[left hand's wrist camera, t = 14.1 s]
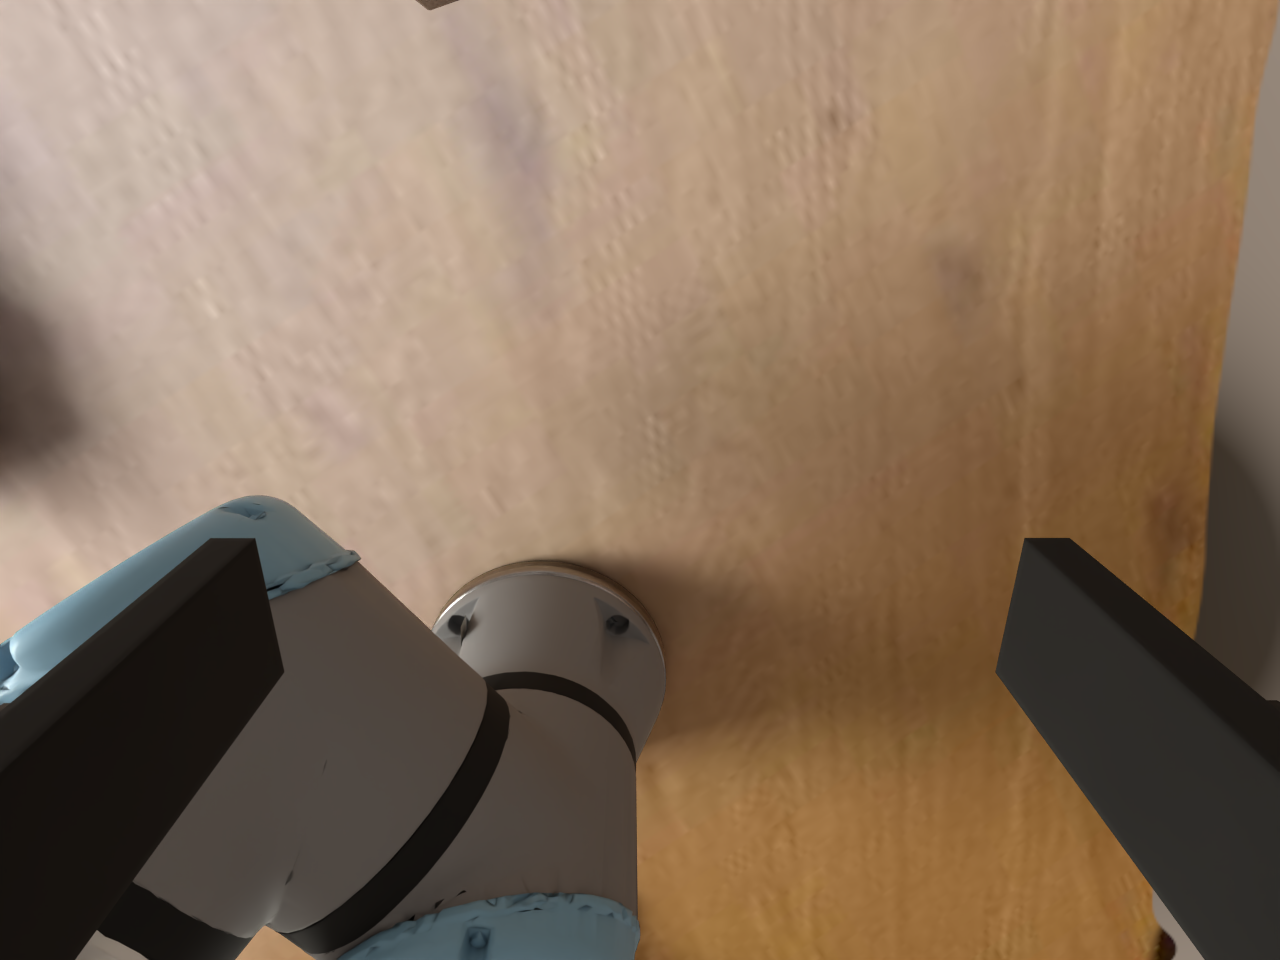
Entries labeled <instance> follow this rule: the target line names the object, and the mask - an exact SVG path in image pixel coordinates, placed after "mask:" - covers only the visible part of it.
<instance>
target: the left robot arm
mask: <svg viewBox="0 0 1280 960" xmlns="http://www.w3.org/2000/svg"><path fill="white" fill-rule="evenodd" d="M360 559H361V557H360V556H359V555H358V554H357V553H356V552H355V551H351V550H345V549H344V548H343V547H341V546H340V545H339V544H338V543H337V542H335V541H334V540H333V539H332V538H331V537H329V536H328V535H327V534H326V533H325V532H323V531H322V530H321V529H320V528H319V527H317V526H316V525H315V524H314V523H312V522H311V521H310V520H309V519H308V518H307V517H305V516H304V515H303V514H302V513H301V512H299V511H298V510H297V509H296V508H295V507H293V506H292V505H290V504H289V503H287V502H285V501H283V500H280V499H278V498H274V497H269V496H246V497H242V498H238V499H235V500H232V501H229V502H227V503H225V504H222V505H220V506H218V507H216V508H214V509H212V510H210V511H208V512H207V513H205V514H203V515H201V516H199V517H198V518H196V519H194V520H192V521H191V522H189V523H187V524H185V525H184V526H182V527H180V528H178V529H177V530H175V531H173V532H171V533H170V534H168V535H166V536H165V537H163V538H161V539H160V540H158V541H156V542H155V543H153V544H151V545H150V546H148V547H146V548H145V549H143V550H142V551H140V552H138V553H137V554H135V555H133V556H132V557H130V558H129V559H127V560H125V561H124V562H122V563H120V564H119V565H117V566H116V567H114V568H113V569H111V570H109V571H108V572H106V573H105V574H103V575H101V576H100V577H98V578H97V579H95V580H94V581H92V582H90V583H89V584H87V585H86V586H84V587H83V588H81V589H80V590H78V591H77V592H75V593H74V594H72V595H70V596H69V597H67V598H66V599H64V600H63V601H61V602H60V603H58V604H57V605H55V606H54V607H52V608H51V609H49V610H48V611H46V612H45V613H43V614H42V615H40V616H39V617H37V618H36V619H34V620H33V621H32V622H30V623H29V624H27V625H26V626H24V627H23V628H22V629H20V630H19V631H17V632H16V633H15V634H14V636H13V637H11V638H9V639H7V640H6V641H4V642H3V643H2V644H0V960H235V959H236V958H237V957H238V955H239V954H240V953H241V952H242V951H243V949H244V948H245V947H246V946H247V944H248V943H249V942H250V941H251V939H252V938H253V937H254V936H255V934H256V933H257V932H258V931H259V930H260V929H261V928H262V927H263V926H265V925H266V926H268V927H269V928H271V929H273V930H275V931H276V932H278V933H280V934H281V935H282V936H284V937H285V938H287V939H288V940H290V941H291V942H292V943H294V944H295V945H297V946H298V947H300V948H301V949H302V950H303V951H304V952H306V953H307V954H309V955H310V956H312V957H313V958H315V959H316V960H634V956H635V951H636V949H637V945H638V942H639V940H640V926H639V921H638V911H637V822H636V762H637V760H638V758H639V756H640V754H641V752H642V749H643V747H644V745H645V743H646V741H647V739H648V737H649V734H650V732H651V730H652V728H653V726H654V724H655V722H656V719H657V717H658V715H659V712H660V709H661V706H662V702H663V699H664V694H665V686H666V671H665V655H664V648H663V644H662V640H661V637H660V634H659V632H658V629H657V627H656V625H655V623H654V621H653V620H652V618H651V616H650V615H649V613H648V612H647V611H646V609H645V608H644V607H643V606H642V604H641V603H640V602H639V601H638V600H637V599H636V598H635V597H634V596H633V595H632V594H631V593H630V592H628V591H627V590H626V589H625V588H623V587H622V586H621V585H619V584H618V583H616V582H615V581H613V580H611V579H610V578H608V577H606V576H604V575H602V574H600V573H597V572H595V571H592V570H590V569H587V568H584V567H581V566H577V565H573V564H568V563H562V562H555V561H528V562H520V563H514V564H510V565H505V566H502V567H499V568H496V569H493V570H491V571H489V572H486V573H484V574H482V575H480V576H478V577H477V578H475V579H473V580H472V581H470V582H469V583H467V584H466V585H464V586H463V587H462V588H461V589H460V590H458V591H457V592H456V593H455V594H454V595H453V596H452V597H451V598H450V600H449V601H448V602H447V603H446V605H445V606H444V607H443V609H442V610H441V612H440V614H439V616H438V617H437V619H436V621H435V624H434V626H433V628H432V630H430V629H429V628H428V627H427V626H426V625H425V624H424V623H423V622H422V621H421V620H420V619H419V618H417V617H416V616H415V615H414V614H413V613H412V612H411V611H410V610H409V609H408V608H407V607H406V606H405V605H404V604H403V603H401V602H400V601H399V600H398V599H397V598H396V597H395V596H394V595H393V594H392V593H391V592H390V591H389V590H388V589H387V588H386V587H384V586H383V585H382V584H381V583H380V582H379V581H378V580H377V579H376V578H375V577H374V576H373V575H372V574H371V573H370V572H369V571H367V570H366V569H365V568H364V567H363V566H362V565H361V564H360V563H359V562H358V561H359V560H360ZM996 674H997V675H998V676H999V678H1000V679H1001V680H1002V682H1003V683H1004V685H1005V686H1006V687H1007V689H1008V690H1009V691H1010V693H1011V694H1012V696H1013V697H1014V698H1015V700H1016V701H1017V702H1018V704H1019V705H1020V707H1021V708H1022V709H1023V711H1024V712H1025V713H1026V715H1027V716H1028V718H1029V719H1030V720H1031V722H1032V723H1033V724H1034V726H1035V727H1036V729H1037V730H1038V731H1039V733H1040V734H1041V735H1042V737H1043V738H1044V740H1045V741H1046V742H1047V744H1048V745H1049V746H1050V748H1051V749H1052V751H1053V752H1054V753H1055V755H1056V756H1057V757H1058V759H1059V760H1060V762H1061V763H1062V764H1063V766H1064V767H1065V768H1066V770H1067V771H1068V773H1069V774H1070V775H1071V777H1072V778H1073V779H1074V781H1075V782H1076V784H1077V785H1078V786H1079V788H1080V789H1081V790H1082V792H1083V793H1084V795H1085V796H1086V797H1087V799H1088V800H1089V801H1090V803H1091V804H1092V806H1093V807H1094V808H1095V810H1096V811H1097V812H1098V814H1099V815H1100V816H1101V818H1102V819H1103V821H1104V822H1105V823H1106V825H1107V826H1108V827H1109V829H1110V830H1111V832H1112V833H1113V834H1114V836H1115V837H1116V838H1117V840H1118V841H1119V843H1120V844H1121V845H1122V847H1123V848H1124V849H1125V851H1126V852H1127V854H1128V855H1129V856H1130V858H1131V859H1132V860H1133V862H1134V863H1135V865H1136V866H1137V867H1138V869H1139V870H1140V871H1141V873H1142V874H1143V876H1144V877H1145V878H1146V880H1147V881H1148V882H1149V884H1150V885H1151V887H1152V888H1153V889H1154V891H1155V892H1156V893H1157V895H1158V896H1159V898H1160V899H1161V900H1162V902H1163V903H1164V904H1165V906H1166V907H1167V909H1168V910H1169V911H1170V913H1171V914H1172V915H1173V917H1174V918H1175V920H1176V921H1177V922H1178V924H1179V925H1180V926H1181V928H1182V929H1183V931H1184V932H1185V933H1186V935H1187V936H1188V937H1189V939H1190V940H1191V941H1192V943H1193V944H1194V946H1195V947H1196V948H1197V950H1198V951H1199V953H1200V954H1201V955H1202V957H1203V958H1204V959H1205V960H1280V702H1279V701H1277V700H1272V701H1271V700H1269V701H1268V700H1265V699H1264V698H1263V697H1262V696H1260V695H1259V694H1258V693H1257V692H1256V691H1254V690H1253V689H1252V688H1251V687H1250V686H1248V685H1247V684H1246V683H1245V682H1243V681H1242V680H1241V679H1240V678H1239V677H1237V676H1236V675H1235V674H1234V673H1233V672H1231V671H1230V670H1229V669H1228V668H1226V667H1225V666H1224V665H1223V664H1222V663H1220V662H1219V661H1218V660H1217V659H1215V658H1214V657H1213V656H1212V655H1211V654H1209V653H1208V652H1207V651H1206V650H1205V649H1203V648H1202V647H1201V646H1200V645H1199V644H1197V643H1196V642H1195V641H1194V640H1193V639H1191V638H1190V637H1189V636H1188V635H1186V634H1185V633H1184V632H1183V631H1182V630H1180V629H1179V628H1178V627H1177V626H1176V625H1174V624H1173V623H1172V622H1171V621H1170V620H1168V619H1167V618H1166V617H1165V616H1163V615H1162V614H1161V613H1160V612H1159V611H1157V610H1156V609H1155V608H1154V607H1153V606H1151V605H1150V604H1149V603H1148V602H1146V601H1145V600H1144V599H1143V598H1142V597H1140V596H1139V595H1138V594H1137V593H1136V592H1134V591H1133V590H1132V589H1131V588H1129V587H1128V586H1127V585H1126V584H1125V583H1123V582H1122V581H1121V580H1120V579H1119V578H1117V577H1116V576H1115V575H1114V574H1113V573H1111V572H1110V571H1109V570H1108V569H1106V568H1105V567H1104V566H1103V565H1102V564H1100V563H1099V562H1098V561H1097V560H1096V559H1094V558H1093V557H1092V556H1091V555H1089V554H1088V553H1087V552H1086V551H1085V550H1083V549H1082V548H1081V547H1080V546H1079V545H1077V544H1076V543H1075V542H1074V541H1073V540H1071V539H1070V538H1025V539H1024V543H1023V548H1022V553H1021V557H1020V562H1019V566H1018V571H1017V575H1016V580H1015V585H1014V589H1013V594H1012V598H1011V603H1010V608H1009V612H1008V617H1007V621H1006V626H1005V631H1004V635H1003V640H1002V644H1001V649H1000V653H999V658H998V663H997V667H996Z"/></svg>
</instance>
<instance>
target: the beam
mask: <svg viewBox="0 0 1280 960" xmlns="http://www.w3.org/2000/svg"><path fill="white" fill-rule="evenodd" d="M416 1H417V2H419V3H420V4H421V5H422V6H424V7H425V8H426V9H427V10H432V9H435V8H438V7H441V6H444V5H447V4H449V3H452V2H455V1H458V0H416Z"/></svg>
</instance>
